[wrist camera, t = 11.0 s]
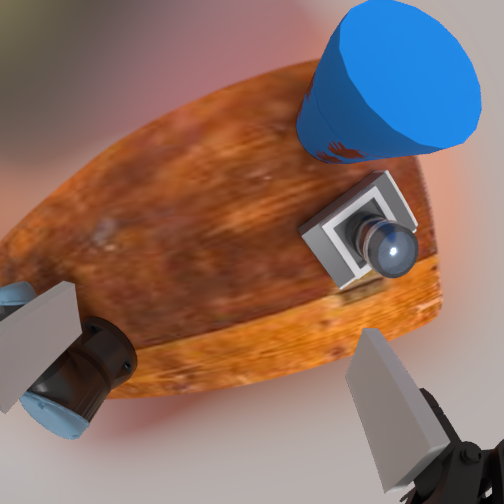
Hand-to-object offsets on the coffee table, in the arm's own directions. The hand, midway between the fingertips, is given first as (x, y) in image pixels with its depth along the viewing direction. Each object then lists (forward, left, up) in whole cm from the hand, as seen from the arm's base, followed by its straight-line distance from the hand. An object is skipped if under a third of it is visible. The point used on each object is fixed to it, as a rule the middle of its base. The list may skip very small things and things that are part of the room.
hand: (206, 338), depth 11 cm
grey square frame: (+12, -9, -29) cm, 33 cm away
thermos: (+18, +4, -29) cm, 34 cm away
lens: (+12, -9, -24) cm, 28 cm away
